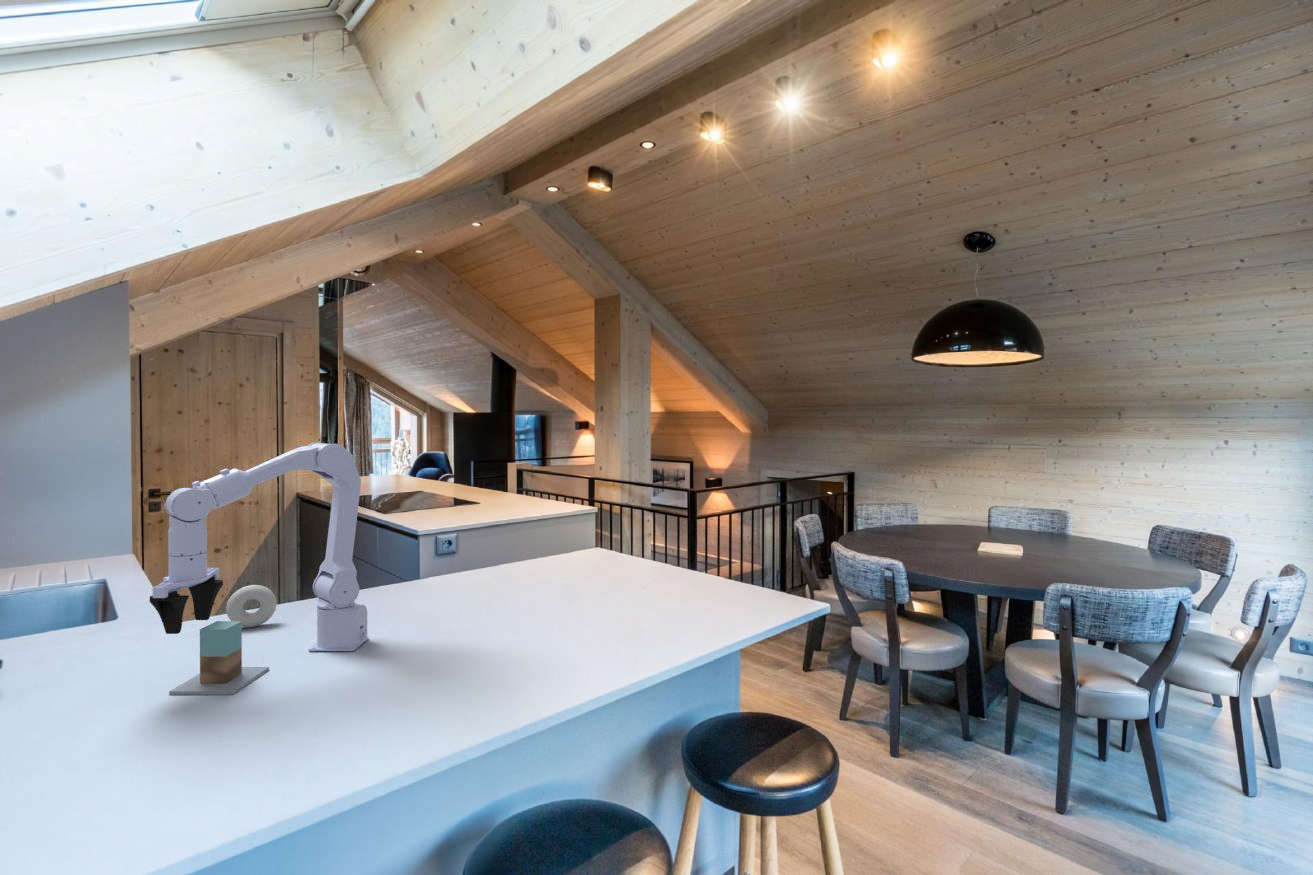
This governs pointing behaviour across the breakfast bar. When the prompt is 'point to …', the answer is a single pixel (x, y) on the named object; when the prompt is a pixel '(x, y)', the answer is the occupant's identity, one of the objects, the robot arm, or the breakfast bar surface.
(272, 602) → the donut
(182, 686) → the baseplate
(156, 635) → the breakfast bar surface
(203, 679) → the walnut brick
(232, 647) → the teal brick
